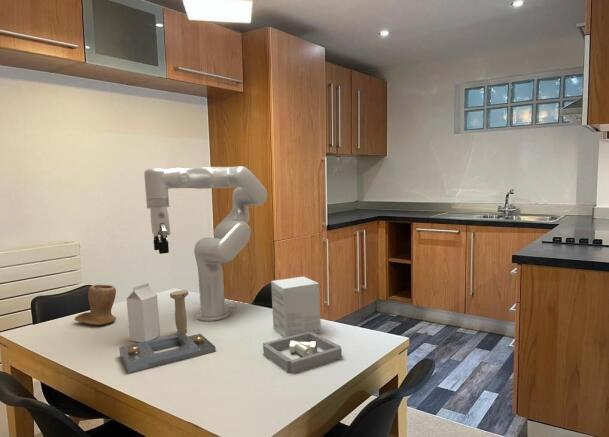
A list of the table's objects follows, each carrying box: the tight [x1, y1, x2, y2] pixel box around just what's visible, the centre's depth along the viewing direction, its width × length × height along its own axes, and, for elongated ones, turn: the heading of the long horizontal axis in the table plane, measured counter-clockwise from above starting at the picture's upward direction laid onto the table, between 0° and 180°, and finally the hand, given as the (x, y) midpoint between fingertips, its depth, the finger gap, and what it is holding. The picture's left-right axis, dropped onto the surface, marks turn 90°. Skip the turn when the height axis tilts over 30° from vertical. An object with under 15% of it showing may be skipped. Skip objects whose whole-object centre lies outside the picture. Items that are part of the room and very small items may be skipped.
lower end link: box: [148, 333, 216, 369], centre depth 140 cm, size 20×15×3 cm
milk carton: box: [126, 282, 161, 343], centre depth 152 cm, size 7×7×19 cm
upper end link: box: [118, 333, 198, 374], centre depth 137 cm, size 20×15×5 cm
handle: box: [169, 289, 189, 335], centre depth 156 cm, size 5×6×15 cm
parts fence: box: [262, 332, 343, 374], centre depth 132 cm, size 18×18×3 cm
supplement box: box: [270, 276, 322, 338], centre depth 154 cm, size 13×13×18 cm
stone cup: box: [73, 284, 117, 326], centre depth 174 cm, size 15×12×15 cm
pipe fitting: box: [288, 341, 318, 357], centre depth 133 cm, size 8×4×7 cm
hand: (161, 251), depth 156 cm, fingers open, 9 cm apart
